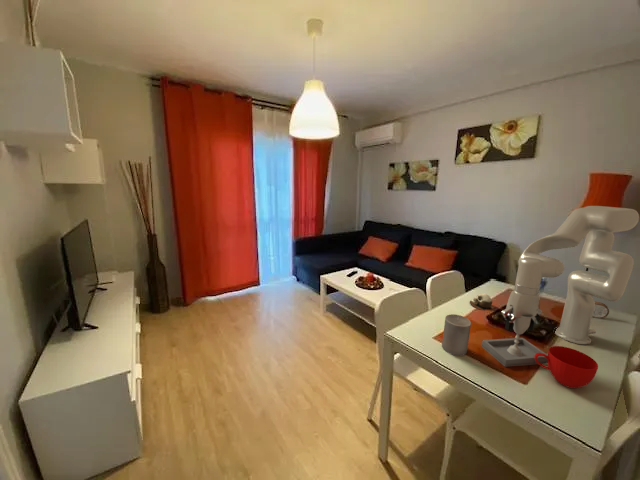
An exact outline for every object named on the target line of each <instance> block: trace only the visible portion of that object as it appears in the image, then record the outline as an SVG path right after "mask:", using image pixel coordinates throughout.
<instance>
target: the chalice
mask: <svg viewBox="0 0 640 480" xmlns="http://www.w3.org/2000/svg"><path fill="white" fill-rule="evenodd" d="M532 316H533V315H532ZM532 316H531V317H532ZM512 317H513V316H511V318H512ZM531 317H525V316H521V318H516V319H515V320H514V321H513V323H514V327H513V332H515V334H516V335H515V337H514V338H516V340H514V342H515V344H514V345H511V346H510V347H509V348H508V349H507V351H508V352H509V353H510V354H512V355H515V356H521V355H522V353H521V349H520V348H519V347H518V346H517V344H518V343H519V341H518V340H519V339H520V338H521V337H520V335H523V334H524V333H525V332H526V331H527V330H529V329H528V327H529V325H530V321H531Z"/></svg>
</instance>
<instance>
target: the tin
mask: <svg viewBox="0 0 640 480" xmlns="http://www.w3.org/2000/svg"><path fill="white" fill-rule="evenodd" d="M594 301H595V300H594ZM609 314H610V309H609V307H608V305H607V304H606V303H604V302H600V301H595V308H594V312H593V316H592V318H595V319H603V318H606V317H607V316H609Z"/></svg>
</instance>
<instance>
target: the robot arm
mask: <svg viewBox="0 0 640 480" xmlns="http://www.w3.org/2000/svg"><path fill="white" fill-rule="evenodd" d="M639 221H640V214H639V212H638V211H637V210H636V209H633V208H626V207H614V206H604V205H603V206H602V205H586V206H583V207H578V208H575V209H574V210H573V211H572V212H570V214H569V215H568V216H567V218H566V219H565V220H564V221H563V222H562V223H561V225H560V226H559V227H558V228H557V230H555V231H554V233H551V234H548V235H545V236H543V237H540V238H538V239H535V240H534V241H533V242H531V243H530V244H528V246H527V247H526V248H525V249H524V250H523V252H521V254H520V256H519V259H518V261H517V262H518V266H517V272H516V279H515V283H514V288H513V290H512V291H511V292H510V294H509V297H508V300H507V303H506V307H505V309H504V310H502V311H501V315H502V317H503V318H504V320H505V326H504V329H505V330H507V331H508V332H510V333H512V332H514V329H513V327H514V323H513V321H514V320H515V319H516V318H521V316H525V317H531V316H532V315H533V316H532V317H531V321H530V325H529V327H528V329H527V330H529V331H530V332H533V331H534V325H535V322H537V319H538V318H539V317H540V315H541V314H542V313H543V310H542V309H541V308H539V305H540V296H539V295H540V294H539V293H540V290H541V283H542V278H551V279H552V278H558V277H559V276H561V275H562V274H563V273H564V271H565V265H564V263H563V262H562V261H561V260H560V259H557V258H553V257H550V256H546V255H542V253H544V252H545V253H546V252H547V251H551V250H552V251H553V250H559V249H561V250H562V249H571V248H575V247H578V246H579V245H580V244H581V242H582V241H583V240H584V244H583V246H582V249H581V252H580V254H579V261H578V263H579V265H580V266H581V267H584V268H587V269H590V270H594V271H597V272H602V273H604V274H608V275H609V276H607V275H604V274H603V275H602V274H600V273H595V272H592V271H589V270H588V271H587V270H583V269H581V270H580V269H579V270H573V271H571V272H570V273H569V274H568V276H567V293H566V299H565V302H564V307H563V311H562V315H561V319H560V323H559V326H557V327H558V328H557V327H556V328H557V329H556V331H555V333H554V334H555V335H556V336H557V337H559V338H561V339H562V340H565V341H567V342H570V343H574V344H577V345H590V344H591V343H592V338H591V337H590V336H589V335H591V334H593V335H595V334H596V333H597V331H596V329H594V328H591V329H590V327H591V323H592V320H593V317H592V316H593V312H594V308H595V300H594V299H595V298H599V299H602V300H604V301H608V302H617V301H620V300H621V298H622V297H623V295H624V293H625V290H626V289H627V286H628V283H629V280H630V277H631V274H632V272H633V269H634V263H635V262H634V261H635V260H634V258H633V257H632V255H631V254H628V253H625V252H622V251H618V250H612V249H613V245H614V242H615V239H616V238H615V235H614V233H620V232H625V231H626V232H627V231H630V230H632V229H633V228H635V227H636V225H638V223H639ZM584 238H585V239H584ZM594 297H595V298H594ZM512 316H513V317H512Z"/></svg>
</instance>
